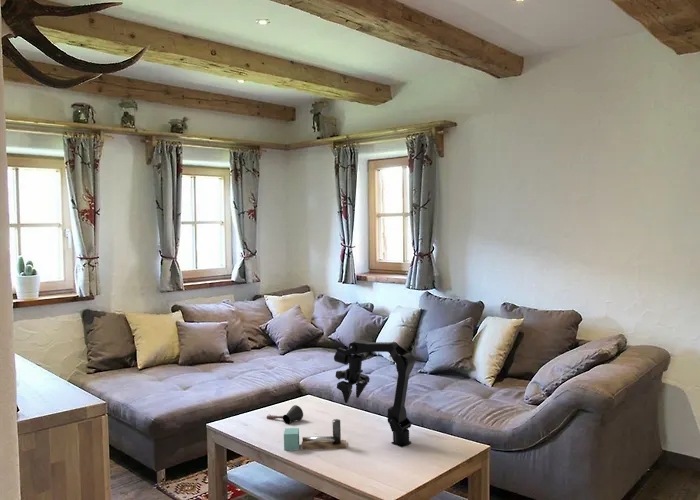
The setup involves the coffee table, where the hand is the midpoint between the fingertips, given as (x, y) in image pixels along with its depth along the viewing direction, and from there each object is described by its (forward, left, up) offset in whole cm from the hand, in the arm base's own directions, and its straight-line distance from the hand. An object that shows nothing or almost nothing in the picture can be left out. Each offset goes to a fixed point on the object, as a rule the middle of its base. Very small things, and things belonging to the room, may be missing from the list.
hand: (351, 400), depth 264 cm
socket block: (+8, +29, -15) cm, 34 cm away
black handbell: (+38, +9, -16) cm, 42 cm away
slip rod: (-2, +20, -14) cm, 24 cm away
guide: (-2, +20, -15) cm, 25 cm away
